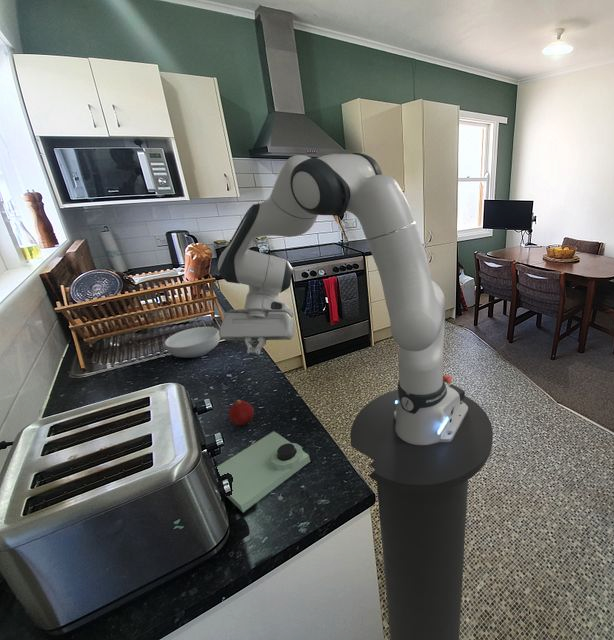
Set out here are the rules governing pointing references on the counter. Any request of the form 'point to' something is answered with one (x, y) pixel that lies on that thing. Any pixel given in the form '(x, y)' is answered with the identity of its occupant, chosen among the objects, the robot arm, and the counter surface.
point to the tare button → (286, 452)
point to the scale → (260, 469)
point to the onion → (241, 412)
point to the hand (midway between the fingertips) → (253, 354)
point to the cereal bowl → (193, 342)
